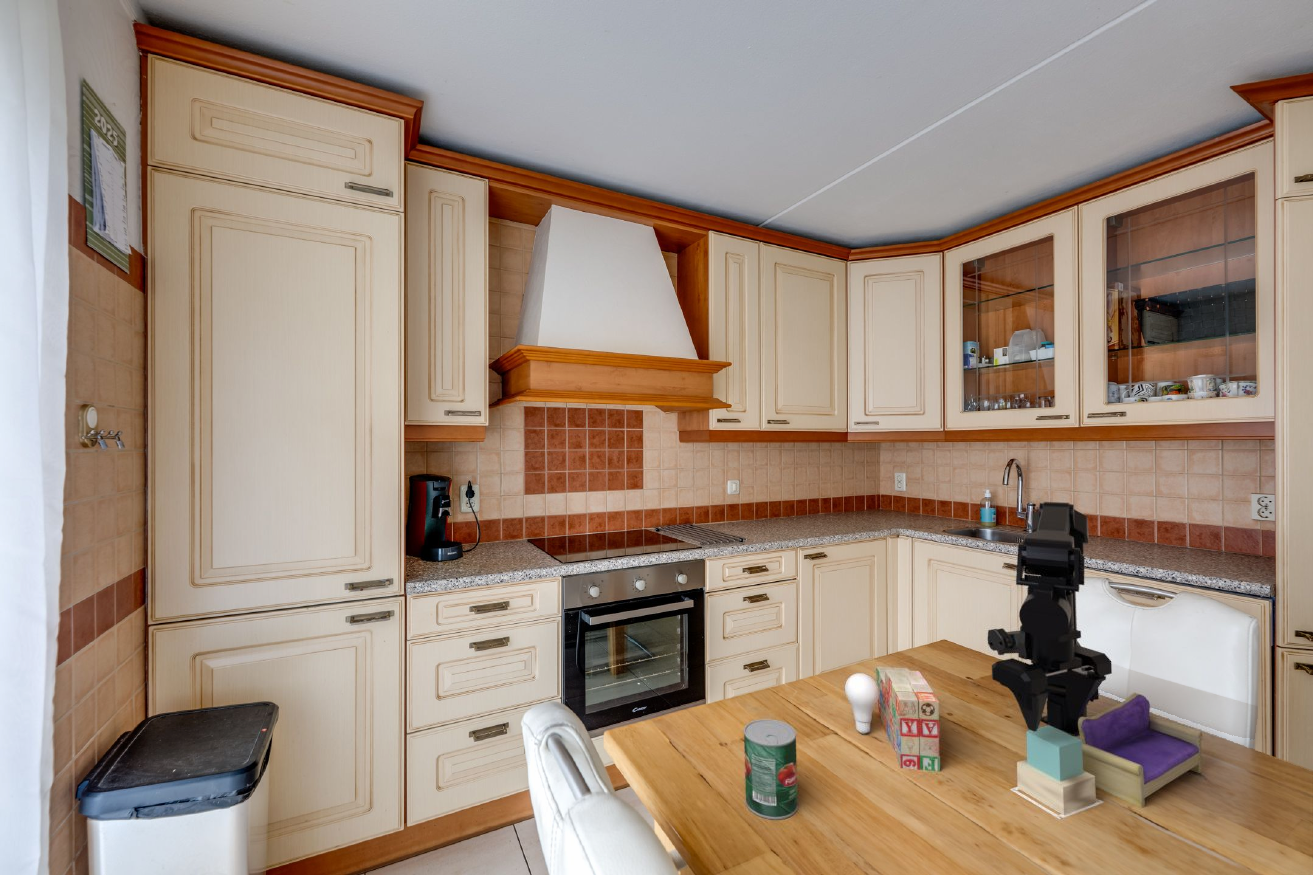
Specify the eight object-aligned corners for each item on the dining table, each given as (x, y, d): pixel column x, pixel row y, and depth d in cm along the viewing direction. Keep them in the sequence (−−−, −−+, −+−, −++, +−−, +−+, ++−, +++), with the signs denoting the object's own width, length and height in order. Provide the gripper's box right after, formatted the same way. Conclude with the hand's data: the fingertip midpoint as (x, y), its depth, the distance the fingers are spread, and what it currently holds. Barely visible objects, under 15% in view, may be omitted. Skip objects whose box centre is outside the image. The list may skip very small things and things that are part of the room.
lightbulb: (845, 738, 105) (843, 678, 105) (847, 722, 111) (845, 666, 111) (880, 744, 103) (878, 683, 103) (880, 727, 109) (879, 670, 109)
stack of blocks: (877, 711, 115) (875, 650, 116) (910, 714, 114) (908, 652, 114) (900, 772, 94) (898, 697, 95) (941, 775, 93) (939, 700, 93)
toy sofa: (1141, 814, 83) (1138, 743, 83) (1074, 783, 90) (1072, 718, 90) (1205, 773, 92) (1203, 710, 92) (1140, 748, 100) (1139, 690, 100)
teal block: (1049, 756, 90) (1048, 724, 90) (1082, 773, 85) (1081, 740, 85) (1027, 763, 88) (1026, 731, 88) (1060, 781, 83) (1059, 747, 83)
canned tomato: (742, 787, 91) (740, 718, 91) (792, 787, 91) (790, 718, 91) (749, 820, 83) (747, 744, 83) (803, 820, 83) (801, 744, 83)
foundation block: (1048, 777, 91) (1047, 752, 91) (1095, 803, 84) (1095, 775, 84) (1017, 788, 88) (1016, 762, 88) (1063, 815, 82) (1063, 787, 82)
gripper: (1040, 600, 97) (1043, 692, 97) (959, 614, 91) (962, 712, 91) (1112, 618, 87) (1115, 721, 87) (1027, 635, 80) (1030, 746, 80)
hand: (1053, 724), depth 86 cm, fingers open, 9 cm apart
